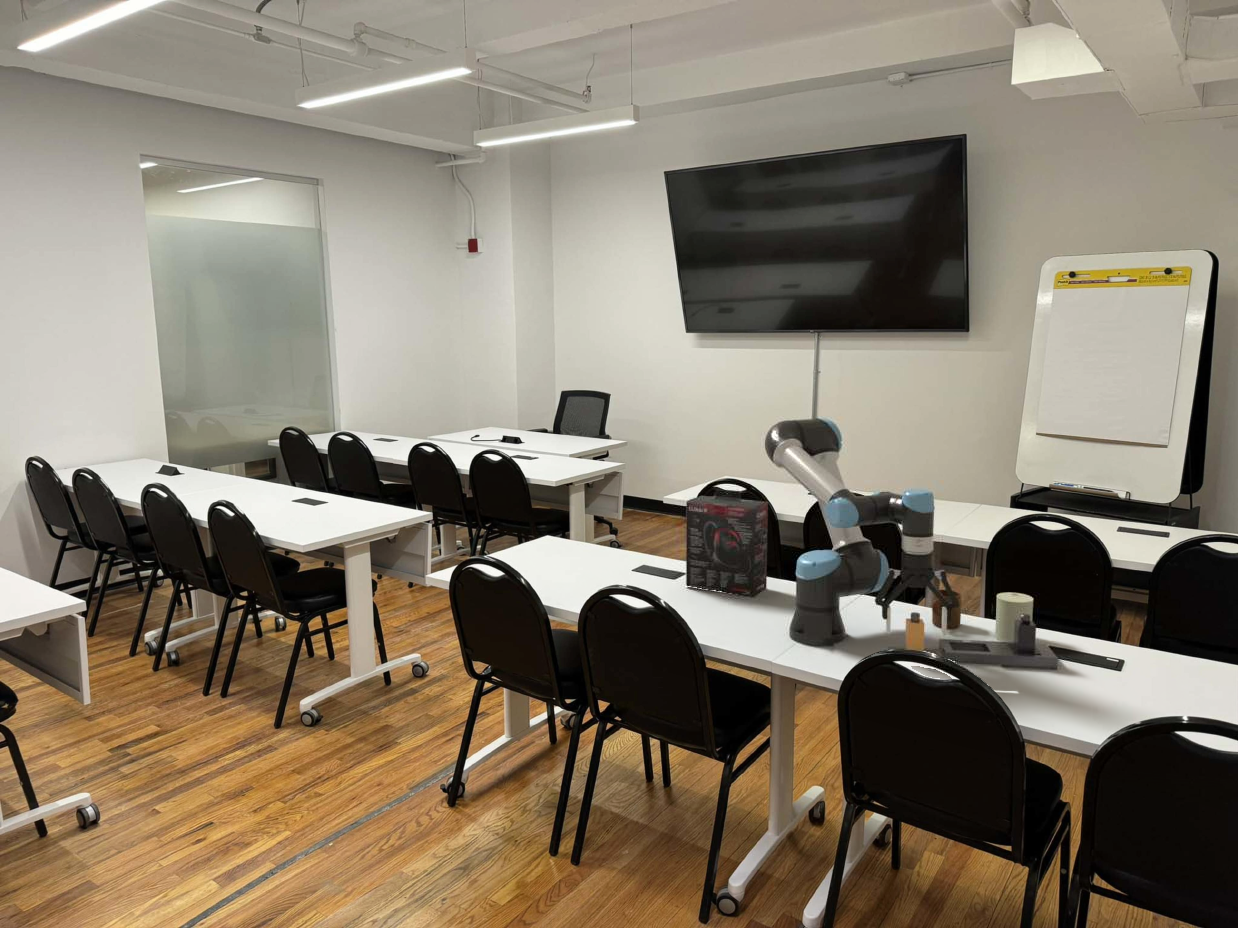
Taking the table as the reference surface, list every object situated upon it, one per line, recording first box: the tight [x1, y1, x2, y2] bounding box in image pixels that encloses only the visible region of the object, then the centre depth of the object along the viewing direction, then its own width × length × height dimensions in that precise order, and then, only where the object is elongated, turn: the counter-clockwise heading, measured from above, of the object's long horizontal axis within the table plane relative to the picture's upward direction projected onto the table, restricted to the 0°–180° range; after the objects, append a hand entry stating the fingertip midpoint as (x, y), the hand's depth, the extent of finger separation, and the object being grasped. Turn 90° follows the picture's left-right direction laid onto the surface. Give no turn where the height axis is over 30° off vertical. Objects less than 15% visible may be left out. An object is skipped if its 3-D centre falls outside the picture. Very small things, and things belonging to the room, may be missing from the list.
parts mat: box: [887, 646, 939, 656], centre depth 221 cm, size 12×10×1 cm
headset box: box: [685, 488, 769, 598], centre depth 282 cm, size 25×12×33 cm, turn 60°
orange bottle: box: [904, 611, 926, 651], centre depth 220 cm, size 4×4×11 cm
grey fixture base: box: [938, 614, 1059, 671], centre depth 217 cm, size 26×10×12 cm, turn 79°
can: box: [994, 591, 1034, 642], centre depth 232 cm, size 9×9×12 cm
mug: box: [931, 589, 962, 630], centre depth 243 cm, size 12×8×9 cm, turn 135°
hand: (916, 632), depth 220 cm, fingers open, 13 cm apart
